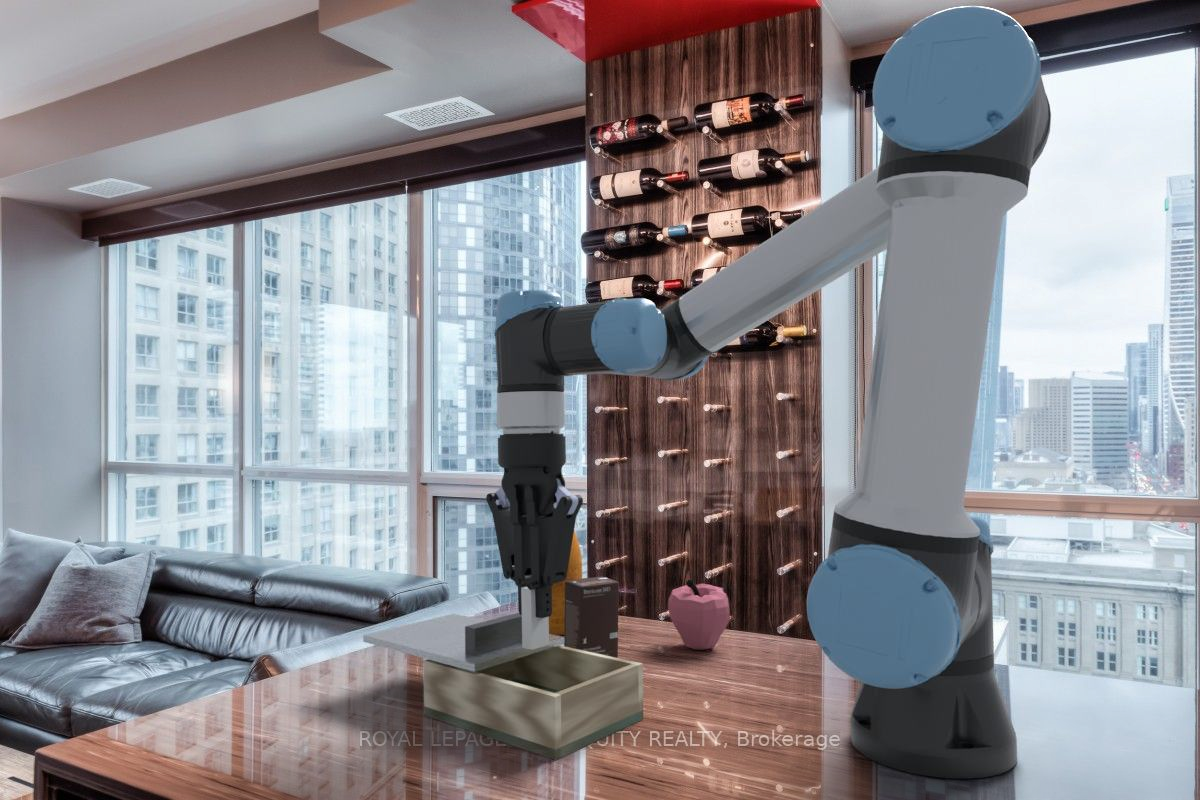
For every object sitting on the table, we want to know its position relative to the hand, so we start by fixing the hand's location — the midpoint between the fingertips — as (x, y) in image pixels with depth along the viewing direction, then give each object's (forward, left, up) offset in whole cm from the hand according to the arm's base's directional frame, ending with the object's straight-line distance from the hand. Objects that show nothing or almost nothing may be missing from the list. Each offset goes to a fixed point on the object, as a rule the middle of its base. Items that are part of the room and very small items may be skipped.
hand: (535, 645), depth 91 cm
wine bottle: (+25, -29, -8) cm, 40 cm away
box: (+6, -16, -8) cm, 19 cm away
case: (+1, 0, -8) cm, 8 cm away
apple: (+2, -35, -8) cm, 36 cm away
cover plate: (+12, 0, -2) cm, 12 cm away
